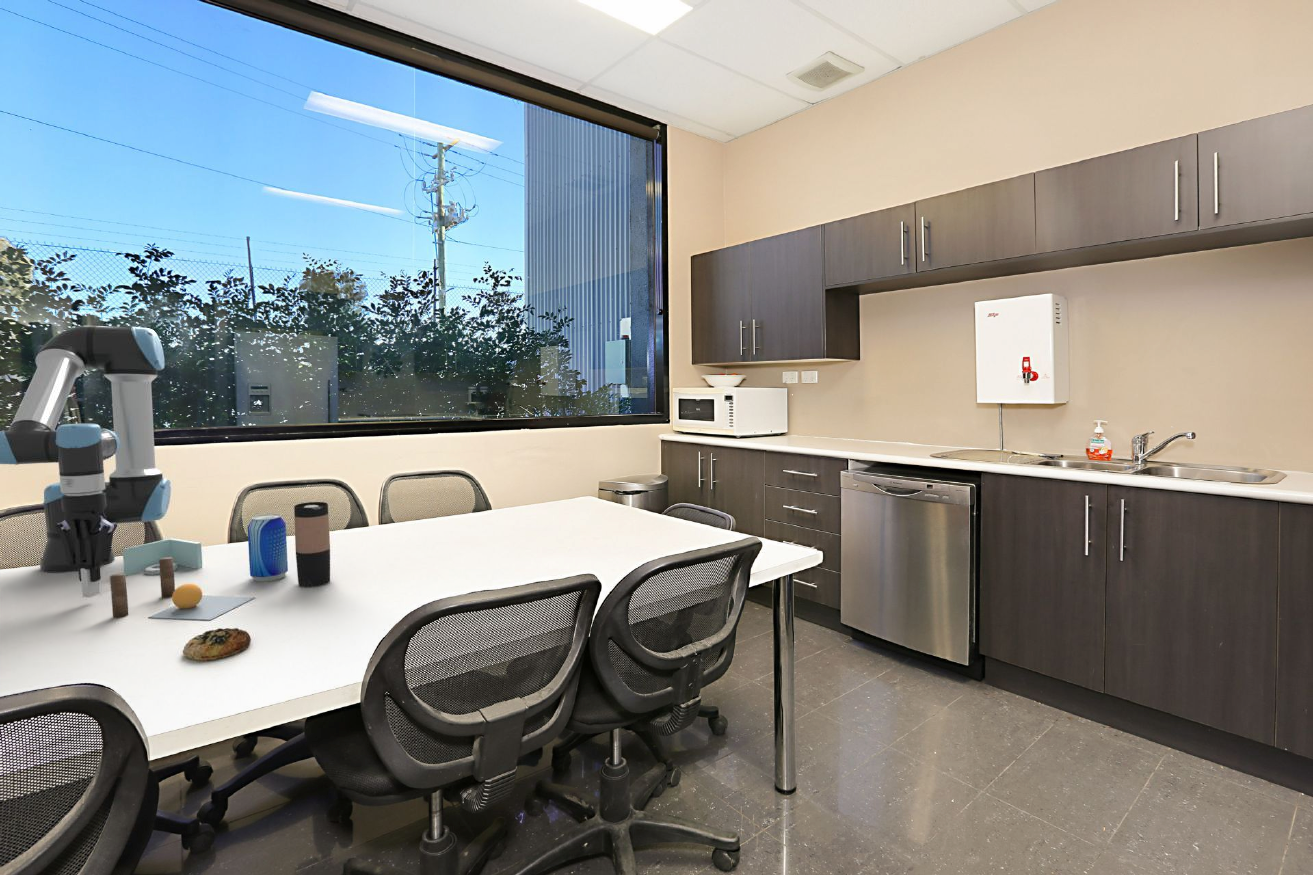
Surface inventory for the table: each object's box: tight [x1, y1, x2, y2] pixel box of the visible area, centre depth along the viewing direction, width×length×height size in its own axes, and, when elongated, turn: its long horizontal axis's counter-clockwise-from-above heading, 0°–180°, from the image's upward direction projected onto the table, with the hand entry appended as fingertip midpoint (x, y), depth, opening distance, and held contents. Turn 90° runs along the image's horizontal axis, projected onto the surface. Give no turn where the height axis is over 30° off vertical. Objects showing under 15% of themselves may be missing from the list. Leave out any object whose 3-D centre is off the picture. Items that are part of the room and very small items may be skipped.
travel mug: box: [293, 501, 331, 588], centre depth 163 cm, size 8×8×20 cm
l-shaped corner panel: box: [122, 537, 203, 576], centre depth 171 cm, size 12×12×8 cm
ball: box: [171, 583, 203, 609], centre depth 145 cm, size 6×6×6 cm
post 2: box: [159, 557, 176, 599], centre depth 153 cm, size 3×3×9 cm
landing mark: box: [147, 594, 256, 622], centre depth 146 cm, size 14×14×1 cm
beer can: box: [247, 513, 289, 582], centre depth 167 cm, size 8×8×16 cm
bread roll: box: [182, 627, 252, 662], centre depth 124 cm, size 11×11×5 cm
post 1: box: [109, 572, 129, 619], centre depth 140 cm, size 3×3×9 cm
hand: (91, 595), depth 148 cm, fingers closed
